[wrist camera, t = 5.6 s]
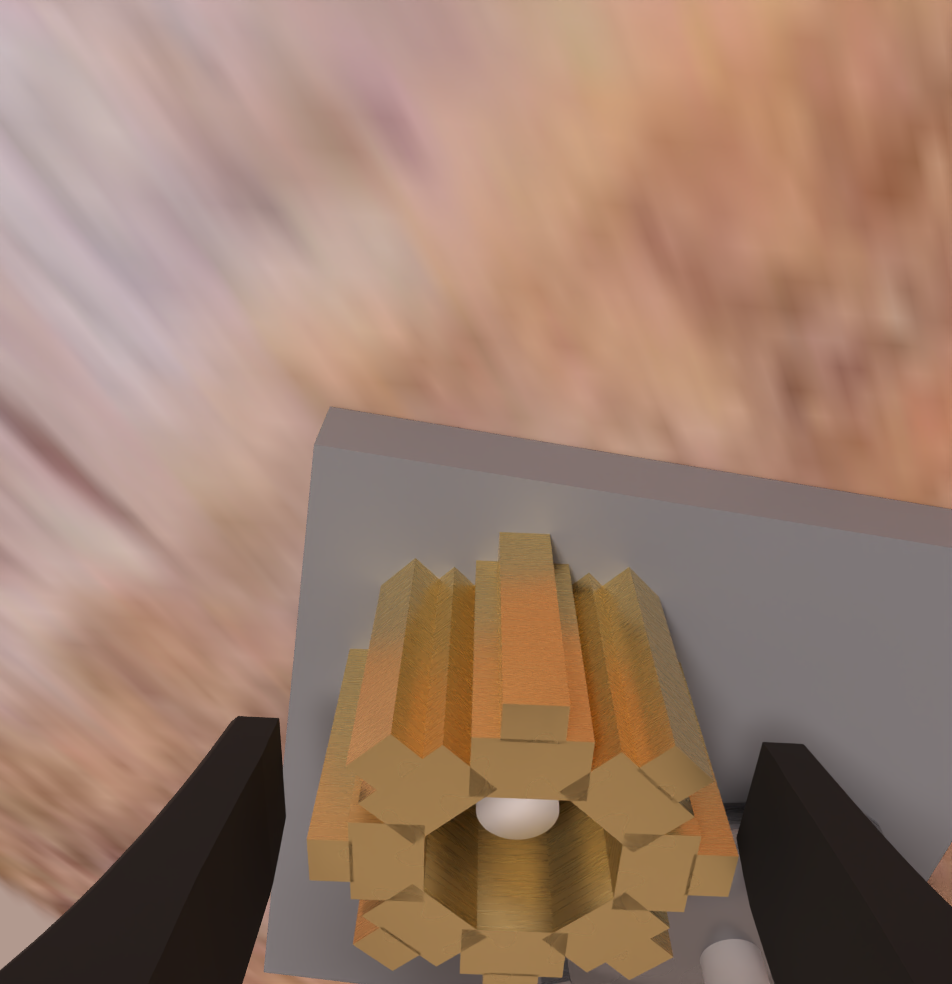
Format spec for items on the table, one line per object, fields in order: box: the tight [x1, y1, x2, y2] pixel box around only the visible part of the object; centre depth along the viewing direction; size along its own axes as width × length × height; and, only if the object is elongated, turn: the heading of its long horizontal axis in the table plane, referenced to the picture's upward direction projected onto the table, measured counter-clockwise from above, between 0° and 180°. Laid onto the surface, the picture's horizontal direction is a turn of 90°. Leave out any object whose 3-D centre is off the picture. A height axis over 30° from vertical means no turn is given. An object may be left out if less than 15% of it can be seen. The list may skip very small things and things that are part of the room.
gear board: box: [264, 407, 952, 984], centre depth 16 cm, size 13×13×4 cm
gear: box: [541, 803, 885, 984], centre depth 18 cm, size 8×8×1 cm
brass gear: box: [307, 532, 739, 984], centre depth 13 cm, size 6×6×4 cm
